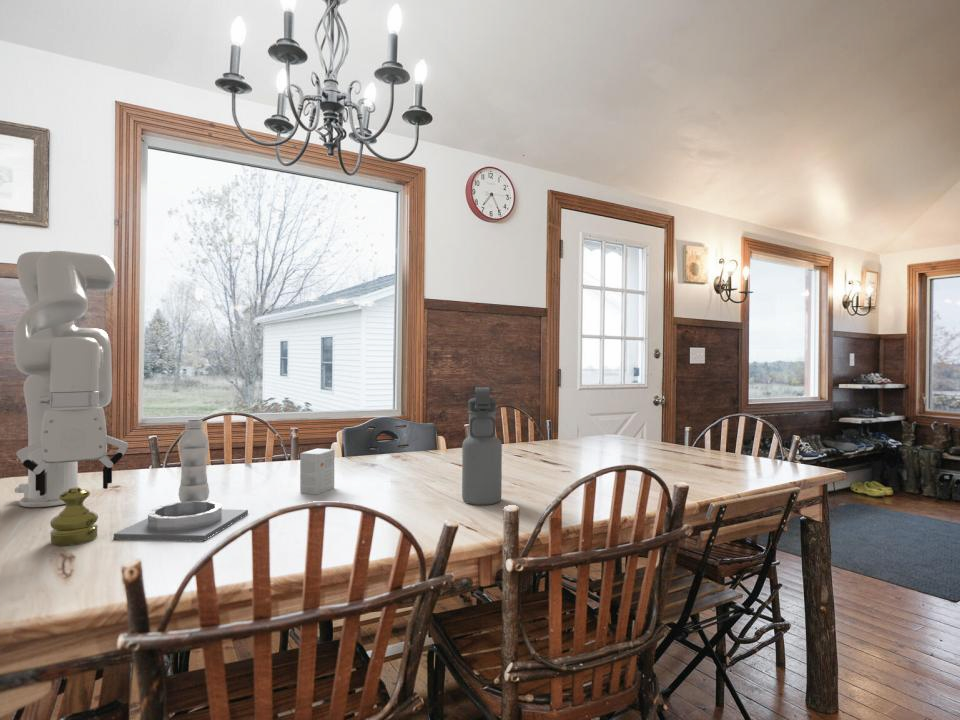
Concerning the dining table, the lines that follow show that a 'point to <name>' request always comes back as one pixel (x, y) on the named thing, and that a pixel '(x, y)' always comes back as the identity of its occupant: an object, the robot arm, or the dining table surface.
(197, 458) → the plastic bottle
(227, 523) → the seat board
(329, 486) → the small box
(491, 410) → the water bottle
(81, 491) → the olive turned piece
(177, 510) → the steel ring
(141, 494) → the dining table surface
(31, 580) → the dining table surface
